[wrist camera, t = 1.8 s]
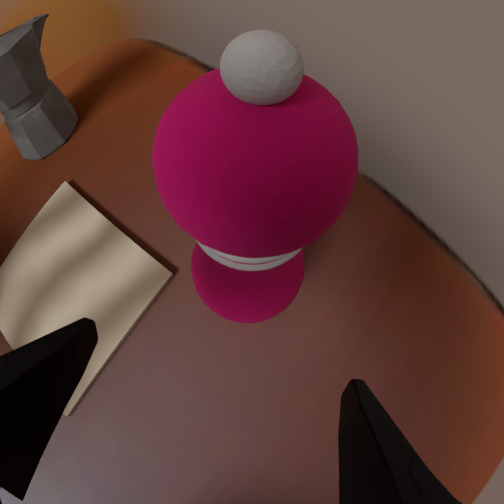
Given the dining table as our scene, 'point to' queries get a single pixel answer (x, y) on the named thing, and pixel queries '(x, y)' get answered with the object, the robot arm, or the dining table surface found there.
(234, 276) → the pepper mill
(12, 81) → the coffeepot
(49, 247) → the beige cloth napkin
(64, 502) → the dining table surface
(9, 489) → the robot arm
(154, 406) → the dining table surface
